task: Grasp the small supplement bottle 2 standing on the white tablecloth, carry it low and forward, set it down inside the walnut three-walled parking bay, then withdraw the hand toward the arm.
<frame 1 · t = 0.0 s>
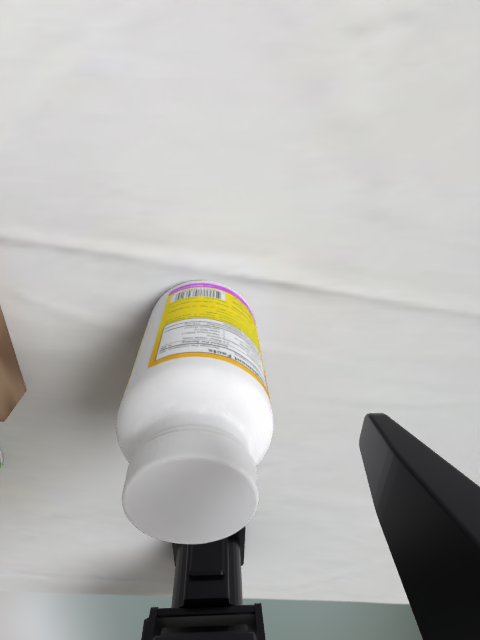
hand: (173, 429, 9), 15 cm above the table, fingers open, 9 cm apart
supplement bottle: (204, 322, 24), on the table
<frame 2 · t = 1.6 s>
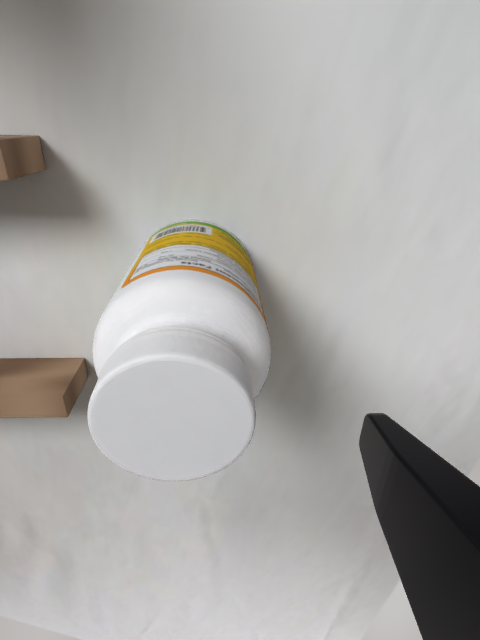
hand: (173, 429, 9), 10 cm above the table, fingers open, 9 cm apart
supplement bottle 2: (195, 274, 18), on the table
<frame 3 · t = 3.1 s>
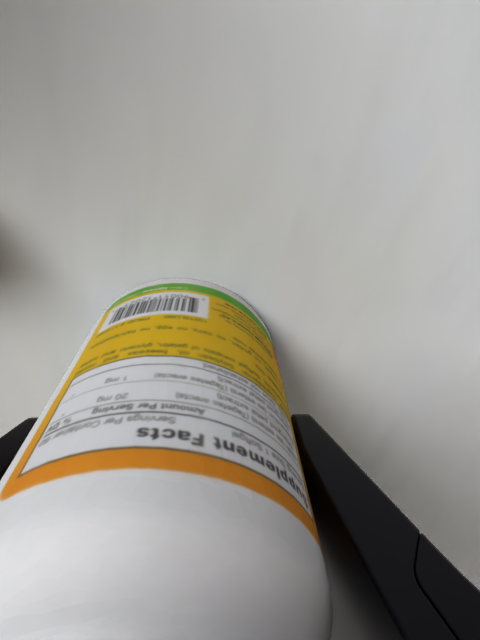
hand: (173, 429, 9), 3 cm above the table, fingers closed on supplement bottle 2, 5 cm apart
supplement bottle 2: (185, 352, 12), on the table, touching gripper
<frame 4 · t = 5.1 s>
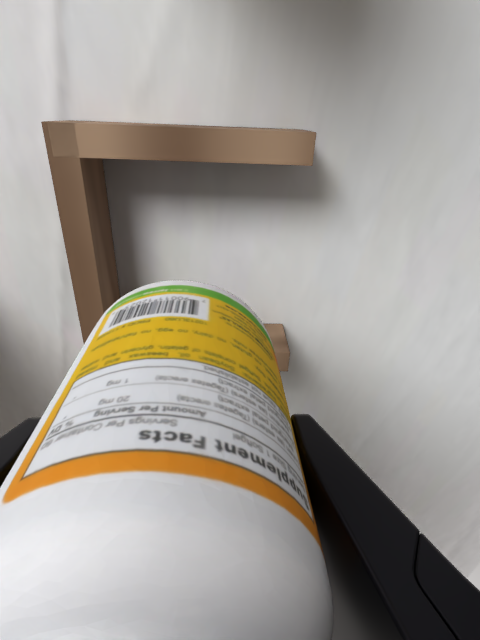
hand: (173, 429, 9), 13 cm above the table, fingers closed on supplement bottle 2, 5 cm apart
supplement bottle 2: (185, 354, 12), point 9 cm above the table, touching gripper
bay: (191, 247, 20), on the table
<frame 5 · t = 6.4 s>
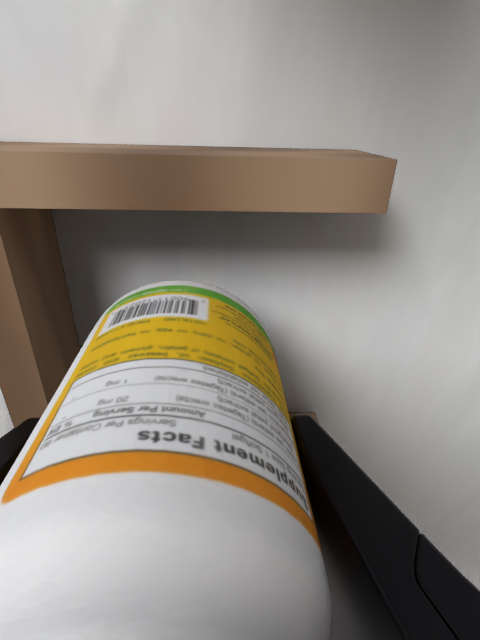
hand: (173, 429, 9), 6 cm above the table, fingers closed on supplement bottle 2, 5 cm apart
supplement bottle 2: (184, 354, 12), point 2 cm above the table, touching gripper
bay: (187, 319, 14), on the table
when the fingers open (5 cm above the table, at t = 7.4 s): supplement bottle 2 drops 2 cm, on the table.
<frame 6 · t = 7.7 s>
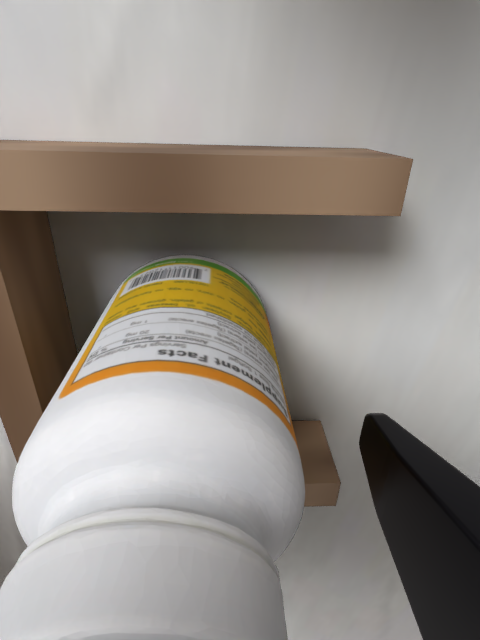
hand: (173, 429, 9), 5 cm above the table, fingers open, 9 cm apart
supplement bottle 2: (190, 322, 13), on the table
bay: (188, 325, 13), on the table
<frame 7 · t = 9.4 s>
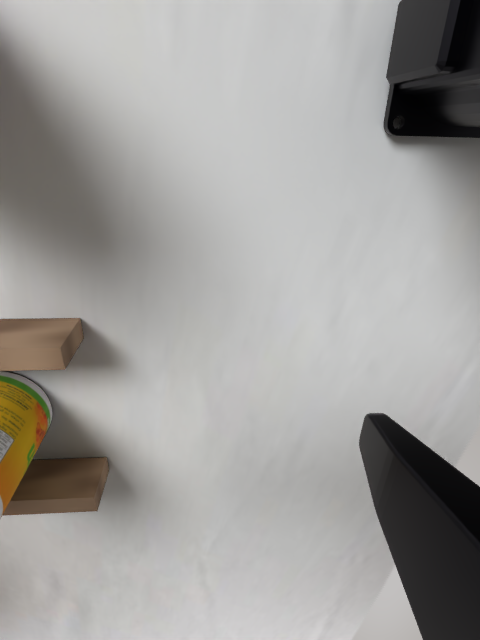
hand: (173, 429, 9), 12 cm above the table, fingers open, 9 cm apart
supplement bottle 2: (8, 403, 22), on the table
bay: (5, 405, 22), on the table
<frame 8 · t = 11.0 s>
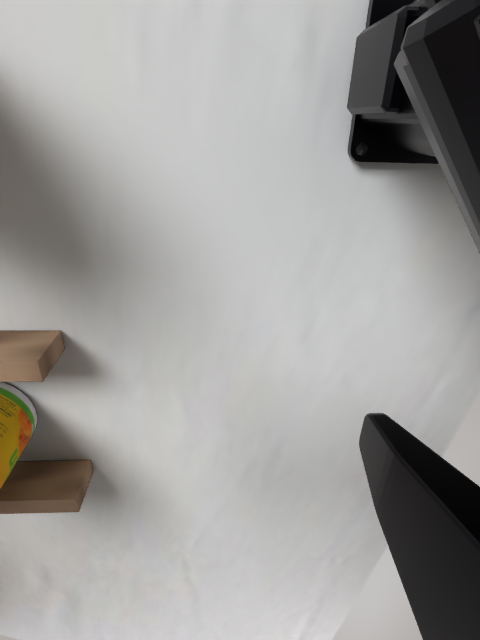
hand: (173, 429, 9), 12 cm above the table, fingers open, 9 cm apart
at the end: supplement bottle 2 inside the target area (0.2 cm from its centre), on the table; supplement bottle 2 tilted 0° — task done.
